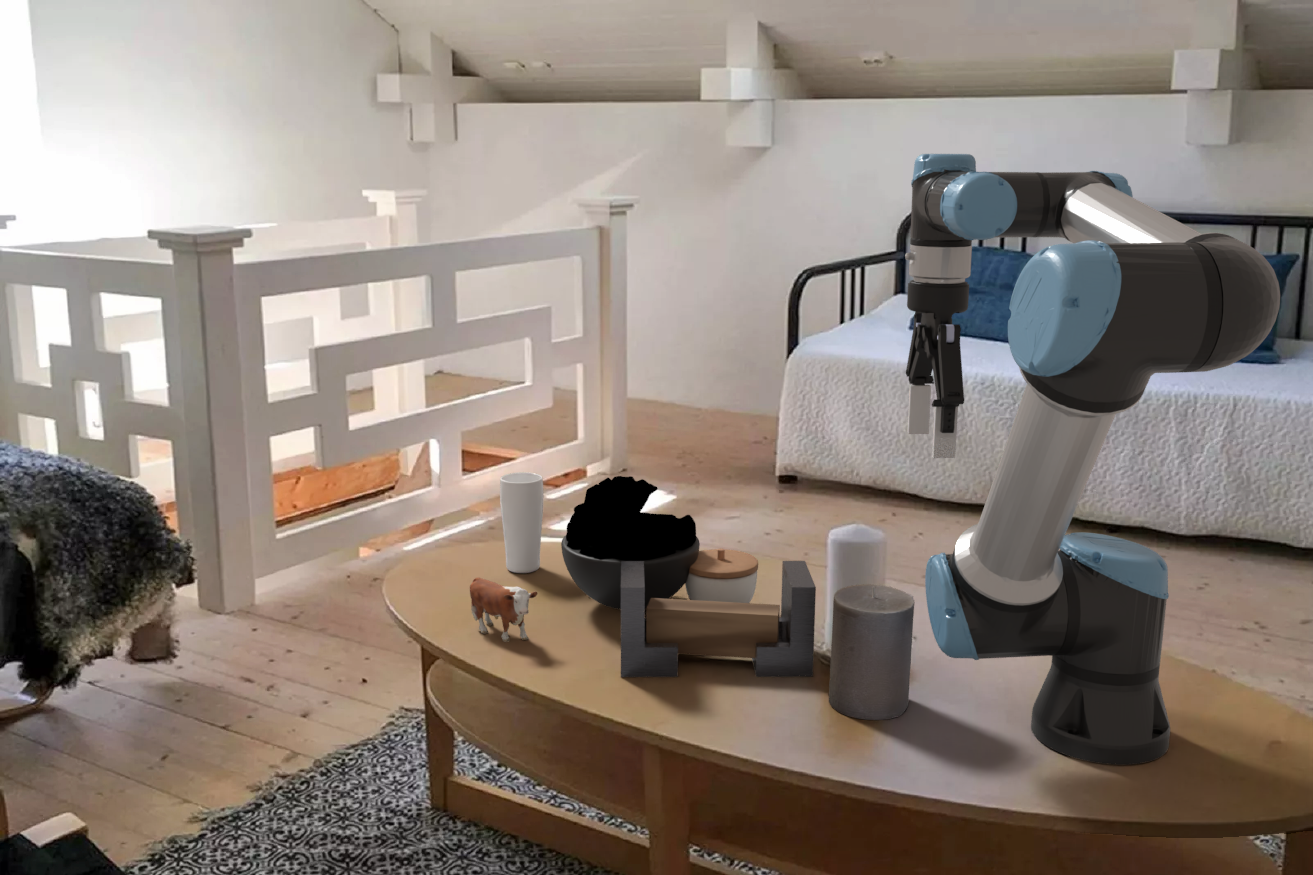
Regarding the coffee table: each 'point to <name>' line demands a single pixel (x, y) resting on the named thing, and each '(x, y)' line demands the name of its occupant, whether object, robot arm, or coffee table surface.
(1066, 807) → the coffee table surface
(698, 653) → the rail
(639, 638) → the grey stand
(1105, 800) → the coffee table surface
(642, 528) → the dark grey bowl
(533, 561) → the drinking glass
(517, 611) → the bull figurine
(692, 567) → the lidded jar
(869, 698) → the pillar candle
